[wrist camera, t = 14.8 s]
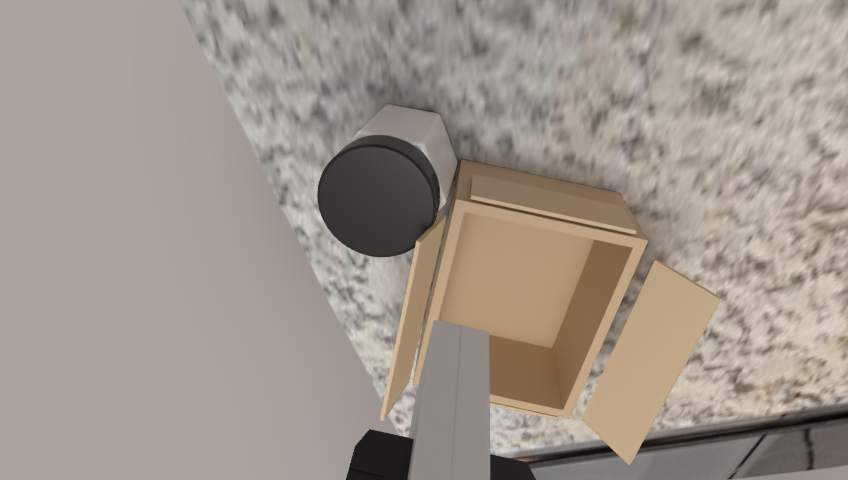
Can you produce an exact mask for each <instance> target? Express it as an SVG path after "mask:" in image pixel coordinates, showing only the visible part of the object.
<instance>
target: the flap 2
mask: <svg viewBox="0 0 848 480" xmlns="http://www.w3.org/2000/svg"><path fill="white" fill-rule="evenodd" d="M721 299H722V298H721V297H719V296H717V295H716V294H714V293H712V292H711V291H709V290H707V289H706V288H704V287H702V286H701V285H699V284H697V283H696V282H694V281H692V280H691V279H689V278H687V277H686V276H684V275H682V274H680V273H679V272H677V271H675V270H674V269H672V268H670V267H669V266H667V265H665V264H664V263H662V262H660V261H659V260H655V261H654V263H653V265H652V268H651V270H650V272H649V274H648V276H647V278H646V281H645V283H644V285H643V287H642V289H641V292H640V294H639V296H638V298H637V300H636V302H635V305H634V307H633V309H632V311H631V313H630V315H629V318H628V320H627V322H626V324H625V326H624V329H623V331H622V333H621V335H620V337H619V339H618V342H617V344H616V346H615V348H614V350H613V352H612V355H611V357H610V359H609V361H608V363H607V366H606V368H605V370H604V372H603V374H602V376H601V379H600V381H599V383H598V385H597V387H596V389H595V392H594V394H593V396H592V398H591V400H590V403H589V405H588V407H587V409H586V411H585V413H584V416H583V418H582V421H583V422H584V423H585V424H586V425H587V426H588V427H590V428H591V429H592V430H593V431H594V432H595V433H596V434H597V435H598V436H599V437H600V438H601V439H602V440H603V441H604V442H605V443H606V444H607V445H609V446H610V447H611V448H612V449H613V450H614V451H615V452H616V453H617V454H618V455H619V456H620V457H621V458H622V459H623V460H624V461H625V462H626V463H627V464H631V462H632V460H633V459H634V457H635V455H636V453H637V451H638V450H639V448H640V446H641V444H642V442H643V441H644V439H645V437H646V435H647V433H648V431H649V430H650V428H651V426H652V424H653V422H654V421H655V419H656V417H657V415H658V413H659V412H660V410H661V408H662V406H663V404H664V403H665V401H666V399H667V397H668V395H669V393H670V392H671V390H672V388H673V386H674V384H675V383H676V381H677V379H678V377H679V375H680V374H681V372H682V370H683V368H684V366H685V364H686V363H687V361H688V359H689V357H690V355H691V354H692V352H693V350H694V348H695V346H696V345H697V343H698V341H699V339H700V337H701V336H702V334H703V332H704V330H705V328H706V326H707V325H708V323H709V321H710V319H711V317H712V316H713V314H714V312H715V310H716V308H717V307H718V305H719V303H720V301H721Z"/></svg>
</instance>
